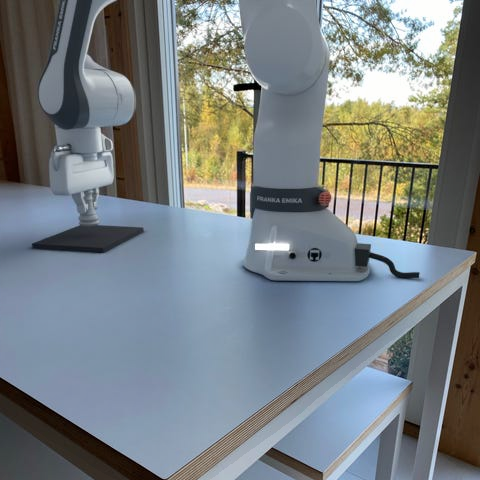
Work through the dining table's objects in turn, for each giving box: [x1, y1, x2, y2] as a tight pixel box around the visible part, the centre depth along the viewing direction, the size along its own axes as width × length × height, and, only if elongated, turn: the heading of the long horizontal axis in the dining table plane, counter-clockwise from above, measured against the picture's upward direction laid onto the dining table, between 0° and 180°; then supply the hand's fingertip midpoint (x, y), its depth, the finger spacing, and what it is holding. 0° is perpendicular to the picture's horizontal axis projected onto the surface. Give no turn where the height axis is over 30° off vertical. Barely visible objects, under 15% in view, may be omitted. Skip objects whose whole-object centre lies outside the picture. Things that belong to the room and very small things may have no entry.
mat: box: [31, 224, 145, 254], centre depth 105 cm, size 16×20×1 cm
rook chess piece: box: [77, 189, 100, 226], centre depth 102 cm, size 4×4×8 cm
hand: (88, 211), depth 102 cm, fingers closed on rook chess piece, 3 cm apart
